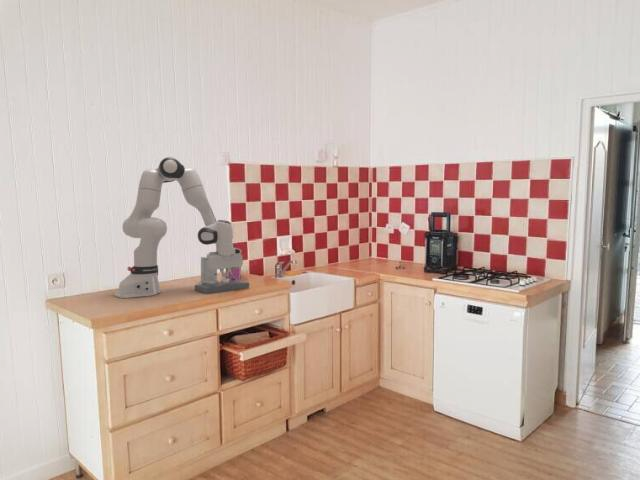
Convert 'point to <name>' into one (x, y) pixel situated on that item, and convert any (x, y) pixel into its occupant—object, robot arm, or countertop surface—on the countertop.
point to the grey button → (211, 282)
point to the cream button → (224, 280)
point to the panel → (221, 286)
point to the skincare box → (207, 271)
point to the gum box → (235, 273)
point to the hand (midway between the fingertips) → (225, 276)
